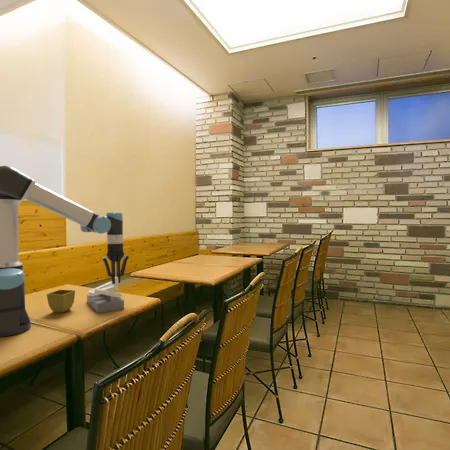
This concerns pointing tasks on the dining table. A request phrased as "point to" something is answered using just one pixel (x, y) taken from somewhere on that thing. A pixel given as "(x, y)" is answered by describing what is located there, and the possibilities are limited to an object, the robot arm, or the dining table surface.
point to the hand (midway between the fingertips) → (116, 290)
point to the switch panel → (105, 303)
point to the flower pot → (61, 300)
